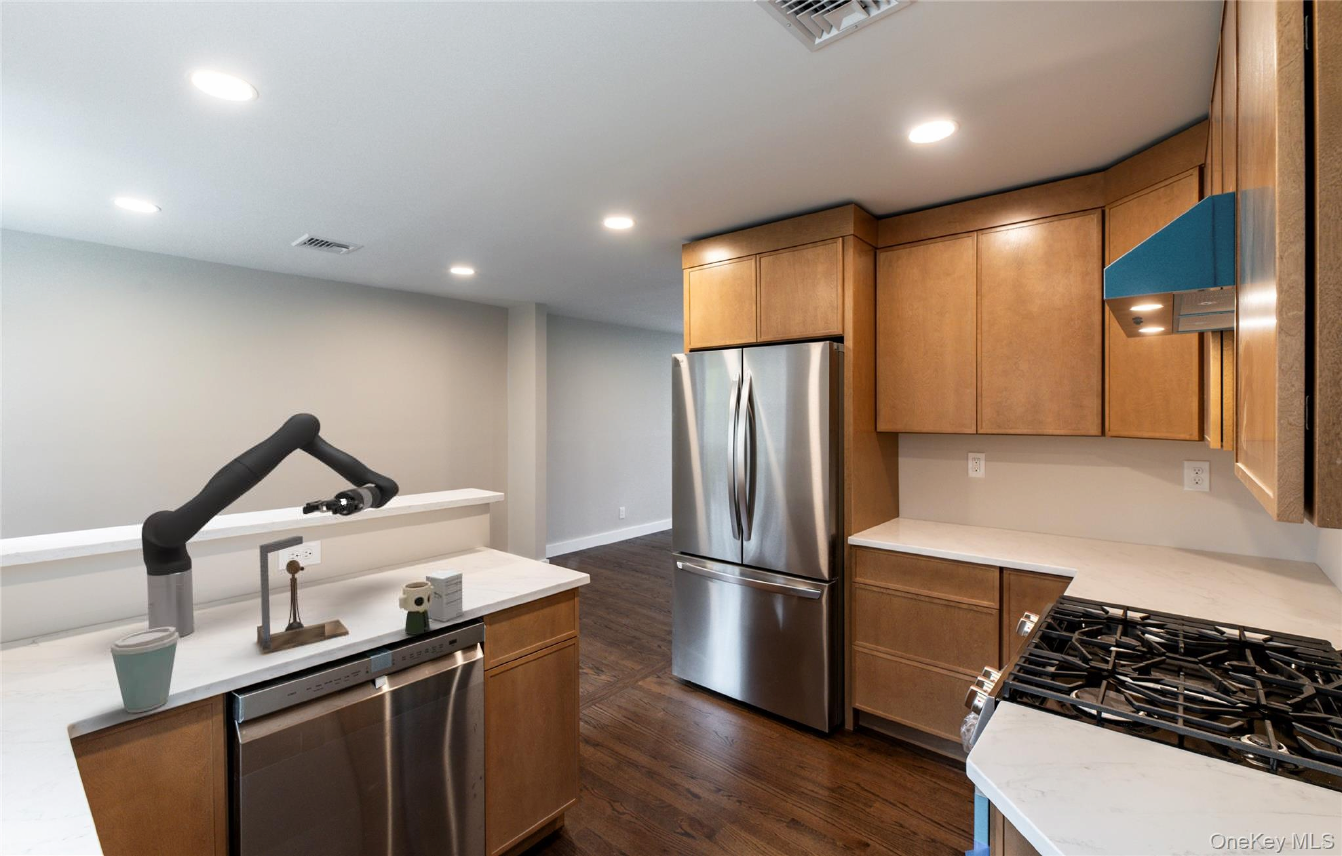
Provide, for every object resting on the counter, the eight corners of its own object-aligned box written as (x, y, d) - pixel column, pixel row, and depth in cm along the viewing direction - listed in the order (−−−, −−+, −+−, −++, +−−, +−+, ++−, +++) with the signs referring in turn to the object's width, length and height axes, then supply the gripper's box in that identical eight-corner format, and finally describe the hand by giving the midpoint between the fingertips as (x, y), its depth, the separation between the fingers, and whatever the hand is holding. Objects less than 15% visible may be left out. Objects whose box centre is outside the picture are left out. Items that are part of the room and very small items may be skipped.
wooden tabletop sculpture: (312, 633, 157) (310, 559, 156) (295, 640, 153) (293, 563, 152) (296, 630, 159) (294, 556, 159) (279, 636, 155) (277, 561, 154)
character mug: (409, 641, 155) (408, 592, 154) (391, 636, 158) (390, 588, 157) (443, 627, 164) (442, 581, 164) (425, 623, 167) (424, 577, 167)
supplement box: (425, 618, 171) (424, 575, 171) (445, 610, 178) (445, 568, 177) (443, 622, 168) (442, 578, 167) (463, 614, 174) (463, 572, 174)
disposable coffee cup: (99, 722, 116) (96, 646, 115) (132, 695, 126) (129, 626, 125) (164, 714, 119) (162, 640, 118) (191, 689, 129) (188, 621, 128)
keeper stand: (263, 654, 147) (260, 546, 145) (257, 640, 155) (254, 538, 154) (348, 634, 159) (346, 535, 158) (338, 622, 167) (336, 528, 166)
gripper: (330, 488, 182) (293, 497, 166) (375, 489, 181) (342, 497, 165) (331, 513, 182) (294, 523, 166) (375, 513, 182) (343, 524, 165)
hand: (318, 510), depth 166 cm, fingers open, 8 cm apart
